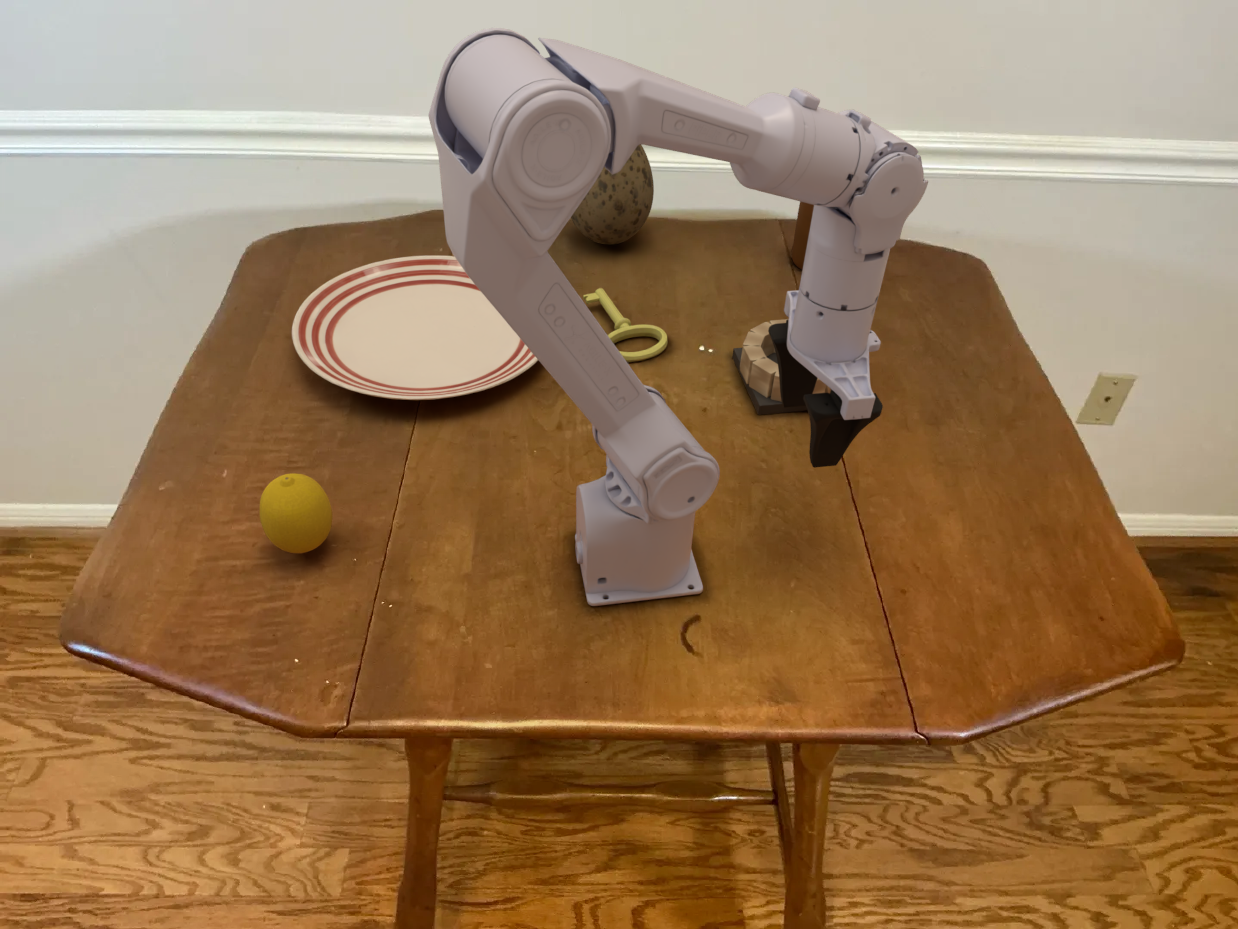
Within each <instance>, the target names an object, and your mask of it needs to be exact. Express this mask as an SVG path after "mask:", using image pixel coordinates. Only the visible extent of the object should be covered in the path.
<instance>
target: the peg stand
mask: <svg viewBox="0 0 1238 929" xmlns="http://www.w3.org/2000/svg"><path fill="white" fill-rule="evenodd" d="M742 348H743V347H733V349H732V355H731V356H732V360H733V362H734V364H735V367H736V369H737V371H738V373H739V375H740V378H741V380H742V382H743V385H744V386H745V389H746V391H747V393H748V396H749V398H750V401H751V403H752V405H753V406H754V409H755V411H756V412H757V415H759V416H760V415H771V414H784V413H793V412H804V411H808V409H807V407H806V406H797V407H786V408H784V406H783V404H782V402H780V401H776V400H772V399H771V396H769V397H768V398H766V397H765V396H763V395H762V394H760V393H759V392H757V391H756V390H754V389H752V388H751V387H749V384H747V383H746V381H745V379H744V377H743V375H742V373H741V371H740V362H741V355H742ZM767 358H768V359H770V360H772V361H773V362H775V363H777V364H778V362H777V356H776V353H772V354H770V355H769V356H767Z"/></svg>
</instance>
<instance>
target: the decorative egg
mask: <svg viewBox="0 0 1238 929" xmlns="http://www.w3.org/2000/svg"><path fill="white" fill-rule="evenodd" d="M654 189H655V188H654V177H653V171H652V167H651V164H650V160H649V157H648V155H647V152H646V151H645V149H644V147H643V145H638V146H637V147H636V149H635V150H634V152H633V153H632V155H631V156H630V158H629V159H628V160H627V162H626V163H625V165H624V166H623V168H622V169H621V170H620V171H619V172H618V173H615V174H611V173H610V172H609V171H608V170H607V169H606V168H605V167H604V168H603V169H602V171H601V173H600V175H599V177H598V178H597V180H596V182H595V183H594V185H593V186H592V188H591V189H590V190H589V192H588V193H587V195H586V196H585V198H584V199H583V201H582V202H581V203H580V205H579V206H578V208H577V209H576V211H575V212H574V213H573V215H572V216H571V218H570V220H571V222H573V224H574V226H575V227H576V229H577V230H578V231H579V232H580V233H581V234H582V235H583V236H585V237H586V238H587V239H588V240H591V241H592V242H594V243H597V244H603V245H617V244H622V243H624V242H626V241H628V240H630V239H631V238H632V237H634V236H635V235H636V234H637V233H638V232H639V231H640V230H641V229H642V228H643V226H644V225H645V223H646V222H647V220H648V218H649V215H650V213H651V211H652V207H653V201H654V193H655V190H654Z"/></svg>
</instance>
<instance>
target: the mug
mask: <svg viewBox="0 0 1238 929" xmlns="http://www.w3.org/2000/svg"><path fill="white" fill-rule="evenodd" d="M798 206H799V207H798V211H797V217H796V222H795V229H794V235H793V242H792V247H791V260H792V262H793V263H794V265H795V266H796V267H797V268H798V269H799V270H801V271H802V270H803V265H804V259H805V253H806V248H807V242H808V237H809V231H810V226H811V220H812V214H813V209H814V205H812V204H808V203H804V202H800V201H799V205H798Z"/></svg>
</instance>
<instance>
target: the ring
mask: <svg viewBox="0 0 1238 929" xmlns="http://www.w3.org/2000/svg"><path fill="white" fill-rule="evenodd" d="M786 320H789V318H786V319H785V318H784V319H774V320H772V319H771V320H769V321H765V322H762V323H760V324H758V325H756V326H755V327H752V328H751V329H749V330H750V331H748V332H747V334H746V337H745V338H744V341H743V343H742V347H741V348H742V355H741V362H740V371H741V373H742V375H743V377H744V379H745V381H746V383H747V384H749V387H751V388H752V389H754V390H756V391H757V392H759V393H760V394H762V395H763V396H765V397H766V398H768V397H769V396H771V399H772V400H776V401H780V402H782V401H781V394H780V381H779V369H778V364H777V363H775V362H773V361H772V360H770V359H768V358H767V356H769V355H770V354H772V353H776V352H775V348H774V345H773V342H772V339H771V337H770V334H769V332H768V330H769V327H770V326H771V325H773V324H777V323H786ZM830 392H831V389H830V388H829V387H828V386H827V385H826V384H824V383H823V382H822V381H821V380H820V379H818V378H817V381H816V385H815V388H814V391H813V394H817V393H830Z"/></svg>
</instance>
